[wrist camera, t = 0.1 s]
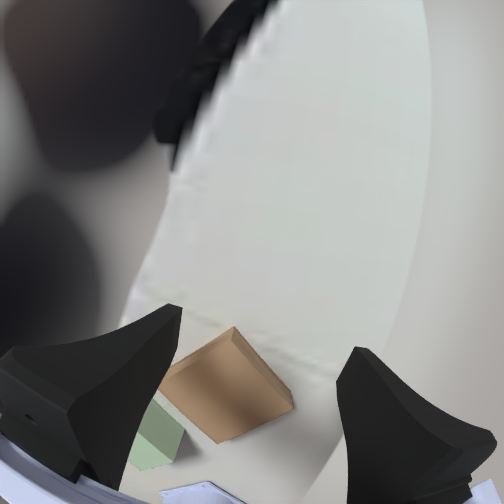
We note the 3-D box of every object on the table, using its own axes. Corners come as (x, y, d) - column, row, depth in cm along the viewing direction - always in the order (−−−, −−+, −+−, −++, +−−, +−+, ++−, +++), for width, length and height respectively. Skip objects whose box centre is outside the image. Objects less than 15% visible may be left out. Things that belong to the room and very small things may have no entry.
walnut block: (221, 423, 24) (217, 444, 21) (165, 368, 23) (154, 386, 20) (289, 388, 23) (293, 408, 20) (234, 324, 22) (230, 340, 19)
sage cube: (154, 440, 24) (140, 470, 19) (121, 410, 24) (102, 439, 19) (185, 428, 24) (173, 461, 19) (150, 395, 23) (132, 427, 18)
